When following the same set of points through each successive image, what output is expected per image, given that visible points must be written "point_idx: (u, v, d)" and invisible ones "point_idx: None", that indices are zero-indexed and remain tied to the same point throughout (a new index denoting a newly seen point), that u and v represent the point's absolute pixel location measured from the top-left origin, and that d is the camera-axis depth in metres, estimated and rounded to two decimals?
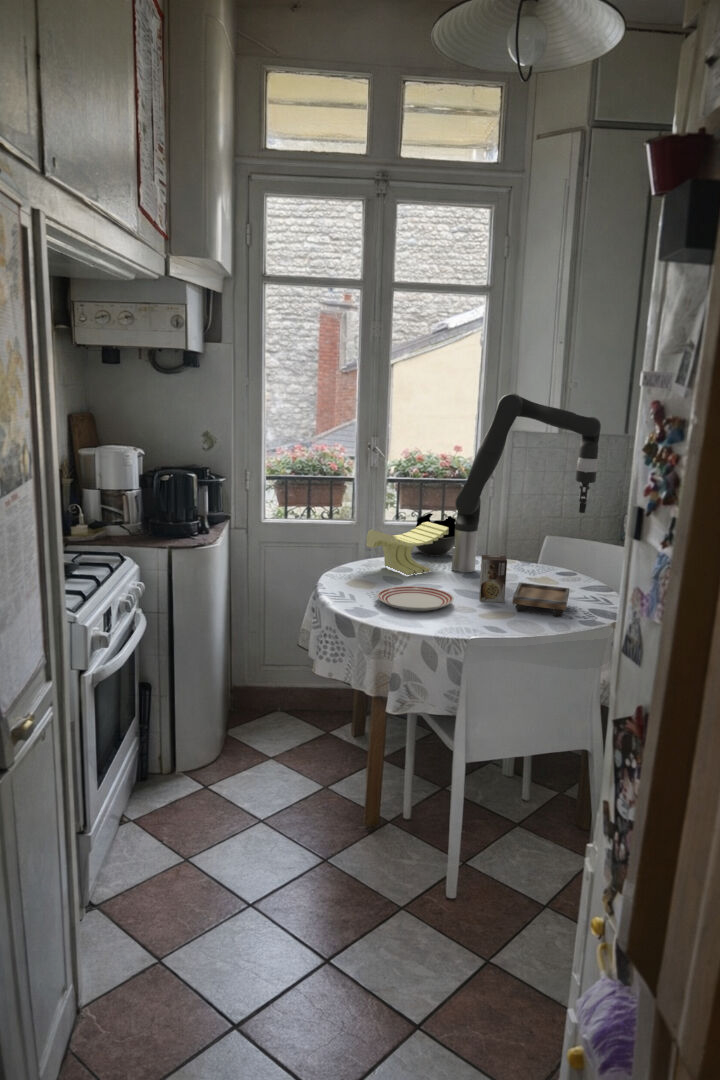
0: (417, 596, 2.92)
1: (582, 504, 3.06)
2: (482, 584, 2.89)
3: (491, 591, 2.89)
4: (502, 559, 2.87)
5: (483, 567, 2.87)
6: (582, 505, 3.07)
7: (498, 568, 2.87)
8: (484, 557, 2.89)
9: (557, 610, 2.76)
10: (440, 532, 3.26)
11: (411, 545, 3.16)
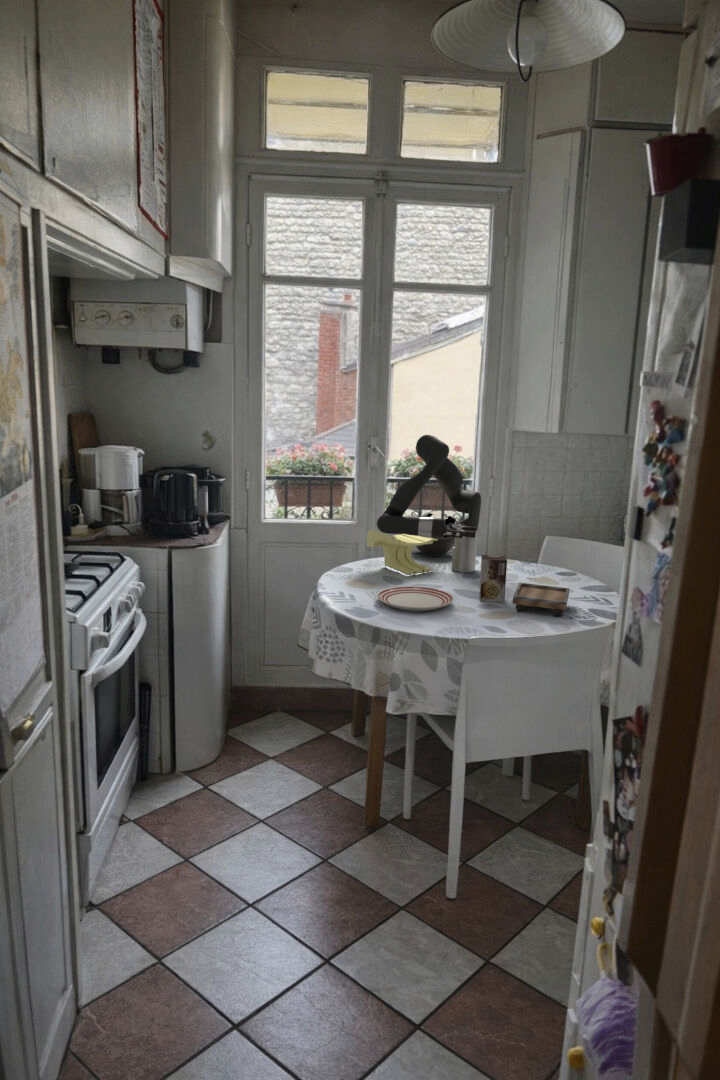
0: (417, 596, 2.92)
1: None
2: (482, 584, 2.89)
3: (491, 591, 2.89)
4: (502, 559, 2.87)
5: (483, 567, 2.87)
6: None
7: (498, 568, 2.87)
8: (484, 557, 2.89)
9: (557, 610, 2.76)
10: None
11: (411, 545, 3.16)
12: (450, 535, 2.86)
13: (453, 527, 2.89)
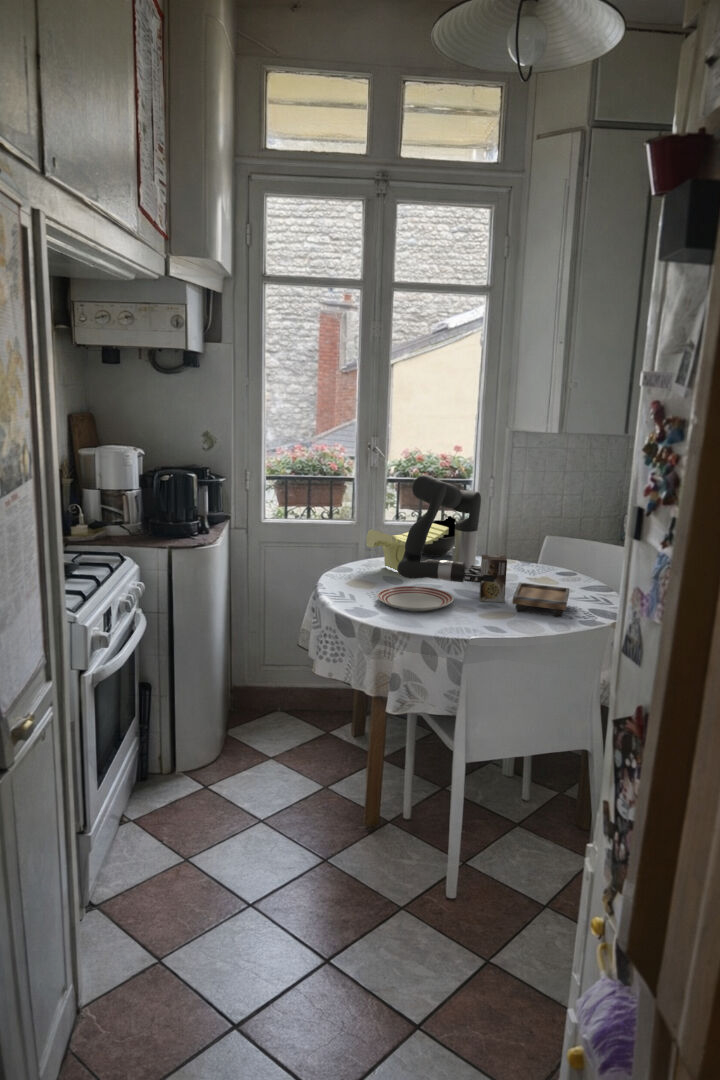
0: (417, 596, 2.92)
1: None
2: (482, 584, 2.89)
3: (491, 591, 2.89)
4: (502, 559, 2.87)
5: (483, 567, 2.87)
6: None
7: (498, 568, 2.87)
8: (484, 557, 2.89)
9: (557, 610, 2.76)
10: (440, 532, 3.26)
11: None
12: (468, 580, 2.87)
13: (472, 571, 2.90)
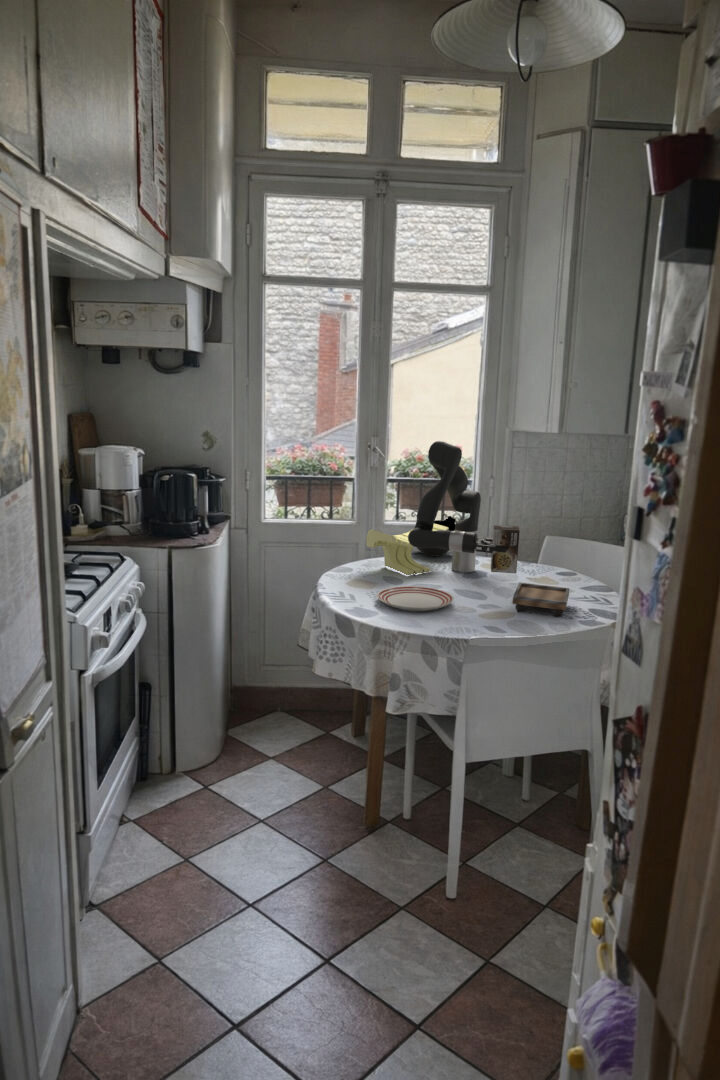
0: (417, 596, 2.92)
1: None
2: (494, 554, 2.84)
3: (503, 562, 2.85)
4: (515, 529, 2.82)
5: (495, 537, 2.83)
6: None
7: (510, 538, 2.82)
8: (496, 527, 2.85)
9: (557, 610, 2.76)
10: None
11: (411, 545, 3.17)
12: (480, 550, 2.83)
13: (484, 541, 2.86)
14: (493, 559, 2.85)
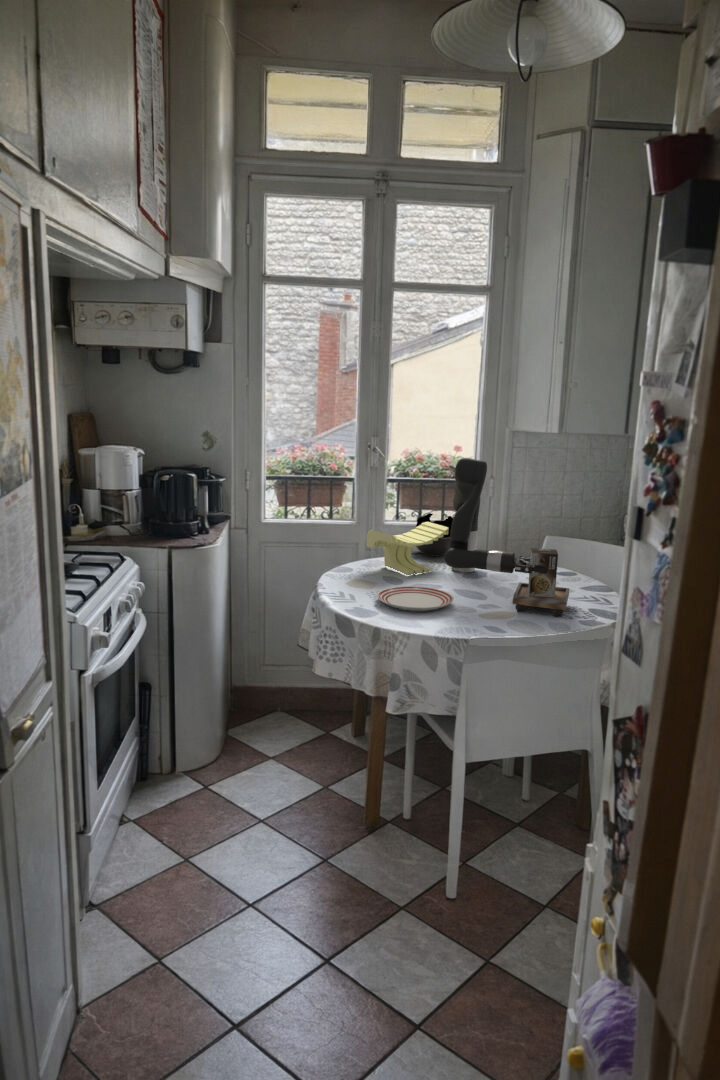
0: (417, 596, 2.92)
1: None
2: (532, 578, 2.80)
3: (541, 586, 2.80)
4: (553, 553, 2.78)
5: (533, 561, 2.79)
6: None
7: (549, 562, 2.78)
8: (534, 550, 2.80)
9: (557, 610, 2.76)
10: (440, 532, 3.26)
11: (411, 545, 3.16)
12: (519, 570, 2.78)
13: (523, 561, 2.81)
14: (531, 583, 2.81)
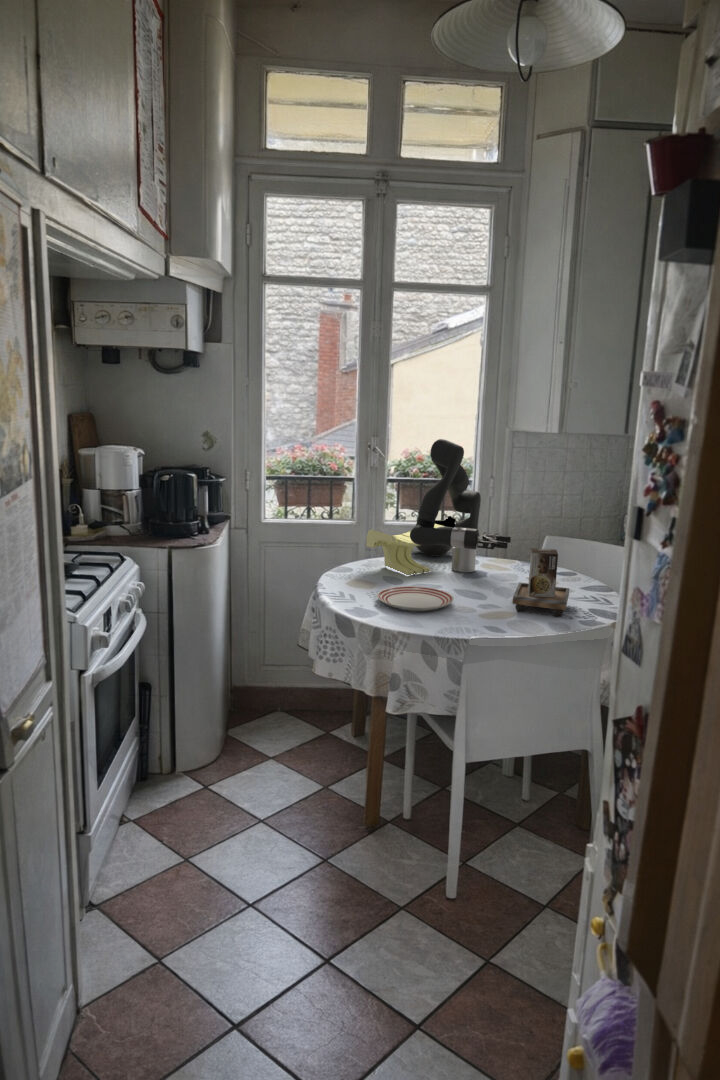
0: (417, 596, 2.92)
1: None
2: (532, 578, 2.80)
3: (541, 586, 2.80)
4: (553, 553, 2.78)
5: (533, 561, 2.79)
6: None
7: (549, 562, 2.78)
8: (534, 550, 2.80)
9: (557, 610, 2.76)
10: None
11: (411, 545, 3.16)
12: (481, 546, 2.85)
13: (485, 538, 2.88)
14: (531, 583, 2.81)
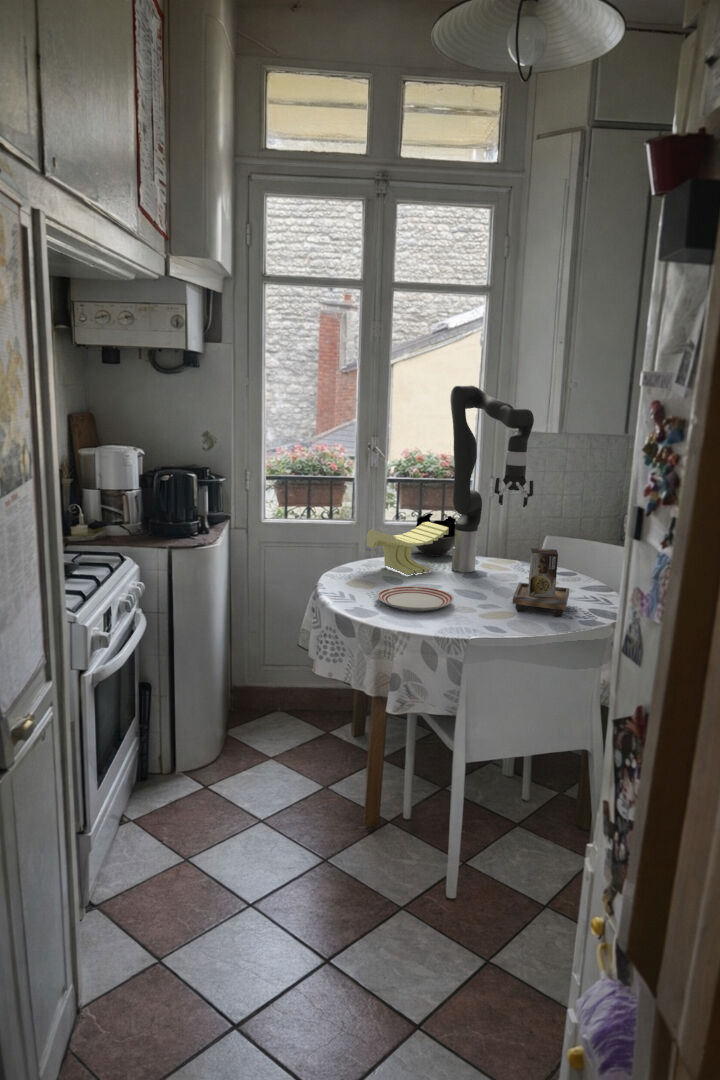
0: (417, 596, 2.92)
1: (499, 495, 3.02)
2: (532, 578, 2.80)
3: (541, 586, 2.80)
4: (553, 553, 2.78)
5: (533, 561, 2.79)
6: None
7: (549, 562, 2.78)
8: (534, 550, 2.80)
9: (557, 610, 2.76)
10: (440, 532, 3.26)
11: (411, 545, 3.16)
12: (532, 484, 2.97)
13: None
14: (531, 583, 2.81)
